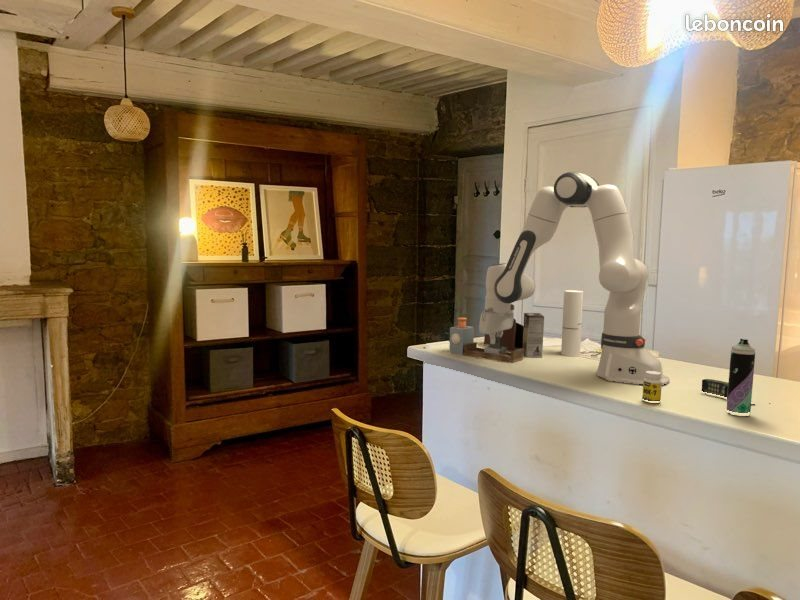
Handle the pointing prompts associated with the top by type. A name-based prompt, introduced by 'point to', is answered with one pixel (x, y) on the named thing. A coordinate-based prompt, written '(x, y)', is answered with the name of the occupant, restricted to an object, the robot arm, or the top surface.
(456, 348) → the grey block
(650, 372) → the supplement bottle
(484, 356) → the rail bed
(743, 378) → the spray can
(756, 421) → the top surface
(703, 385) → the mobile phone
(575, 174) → the robot arm
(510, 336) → the letter holder
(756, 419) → the top surface
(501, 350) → the carriage
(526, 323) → the coffee box
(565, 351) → the cylindrical container
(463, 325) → the plunger
